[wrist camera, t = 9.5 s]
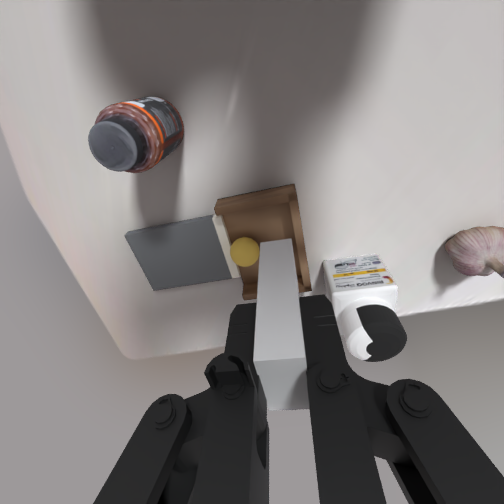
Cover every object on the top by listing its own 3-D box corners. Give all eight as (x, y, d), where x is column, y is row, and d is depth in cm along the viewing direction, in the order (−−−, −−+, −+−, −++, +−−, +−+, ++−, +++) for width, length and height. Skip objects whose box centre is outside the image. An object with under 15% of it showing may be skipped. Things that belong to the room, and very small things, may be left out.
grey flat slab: (128, 231, 40) (124, 235, 39) (222, 213, 38) (220, 216, 37) (156, 285, 45) (153, 290, 44) (240, 272, 43) (239, 277, 42)
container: (378, 251, 40) (419, 319, 29) (376, 293, 44) (412, 367, 33) (322, 259, 41) (341, 327, 30) (325, 299, 45) (344, 372, 34)
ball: (238, 230, 40) (220, 245, 37) (261, 233, 37) (242, 249, 35) (246, 253, 42) (229, 269, 39) (268, 257, 39) (251, 275, 37)
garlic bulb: (430, 242, 39) (464, 278, 32) (483, 205, 35) (534, 236, 29) (459, 272, 41) (497, 312, 34) (512, 240, 38) (565, 276, 31)
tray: (217, 199, 37) (213, 208, 34) (294, 183, 35) (296, 192, 33) (245, 287, 44) (243, 300, 42) (309, 277, 43) (311, 290, 40)
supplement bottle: (148, 82, 30) (92, 86, 21) (195, 121, 32) (163, 141, 22) (124, 129, 33) (64, 152, 23) (168, 162, 35) (130, 196, 25)
